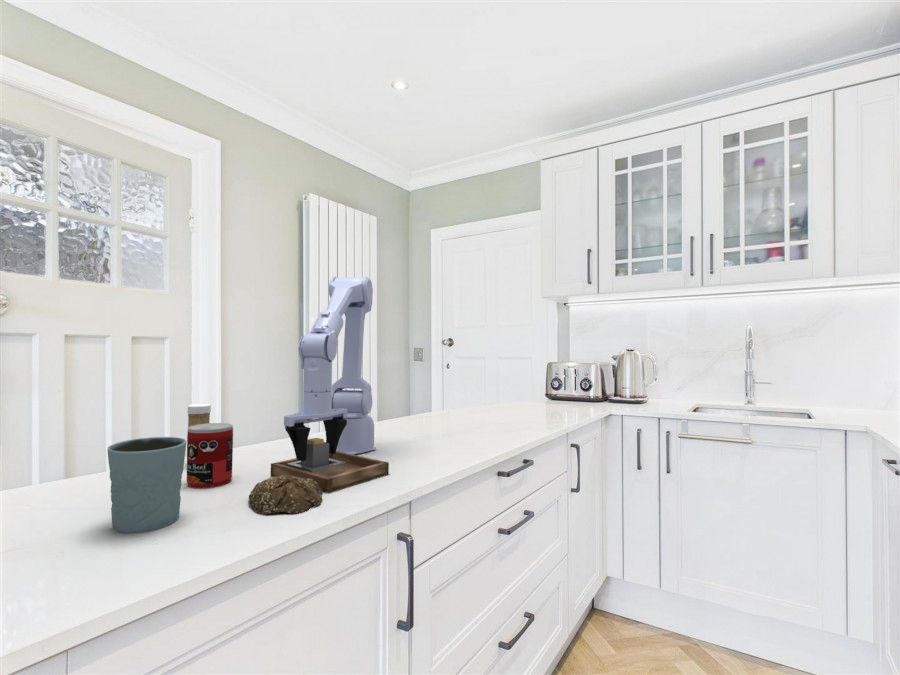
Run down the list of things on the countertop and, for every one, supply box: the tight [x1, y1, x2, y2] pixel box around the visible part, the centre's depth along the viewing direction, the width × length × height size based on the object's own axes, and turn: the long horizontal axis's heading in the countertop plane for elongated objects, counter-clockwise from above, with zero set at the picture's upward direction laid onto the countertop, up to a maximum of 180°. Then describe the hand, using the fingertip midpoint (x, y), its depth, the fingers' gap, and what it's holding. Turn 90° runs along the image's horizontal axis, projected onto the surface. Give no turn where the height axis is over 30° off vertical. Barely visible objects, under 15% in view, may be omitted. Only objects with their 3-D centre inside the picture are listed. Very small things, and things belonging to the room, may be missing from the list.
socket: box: [287, 458, 346, 477], centre depth 98 cm, size 8×8×2 cm
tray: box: [270, 451, 390, 494], centre depth 98 cm, size 16×18×2 cm
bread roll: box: [247, 475, 324, 516], centre depth 82 cm, size 13×12×5 cm
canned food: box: [186, 422, 234, 489], centre depth 92 cm, size 8×8×11 cm
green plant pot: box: [107, 436, 187, 534], centre depth 72 cm, size 10×10×12 cm
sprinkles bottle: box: [187, 403, 212, 428], centre depth 105 cm, size 5×5×14 cm
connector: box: [301, 437, 329, 468], centre depth 98 cm, size 4×4×7 cm
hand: (316, 456), depth 98 cm, fingers open, 7 cm apart
